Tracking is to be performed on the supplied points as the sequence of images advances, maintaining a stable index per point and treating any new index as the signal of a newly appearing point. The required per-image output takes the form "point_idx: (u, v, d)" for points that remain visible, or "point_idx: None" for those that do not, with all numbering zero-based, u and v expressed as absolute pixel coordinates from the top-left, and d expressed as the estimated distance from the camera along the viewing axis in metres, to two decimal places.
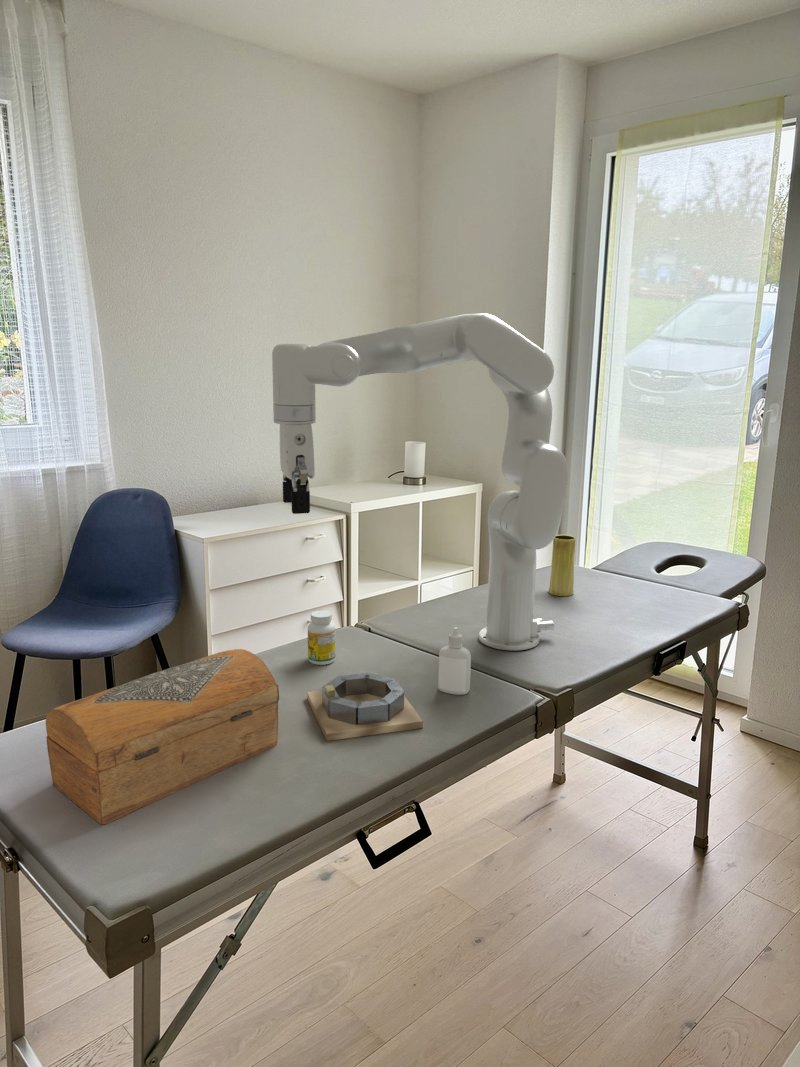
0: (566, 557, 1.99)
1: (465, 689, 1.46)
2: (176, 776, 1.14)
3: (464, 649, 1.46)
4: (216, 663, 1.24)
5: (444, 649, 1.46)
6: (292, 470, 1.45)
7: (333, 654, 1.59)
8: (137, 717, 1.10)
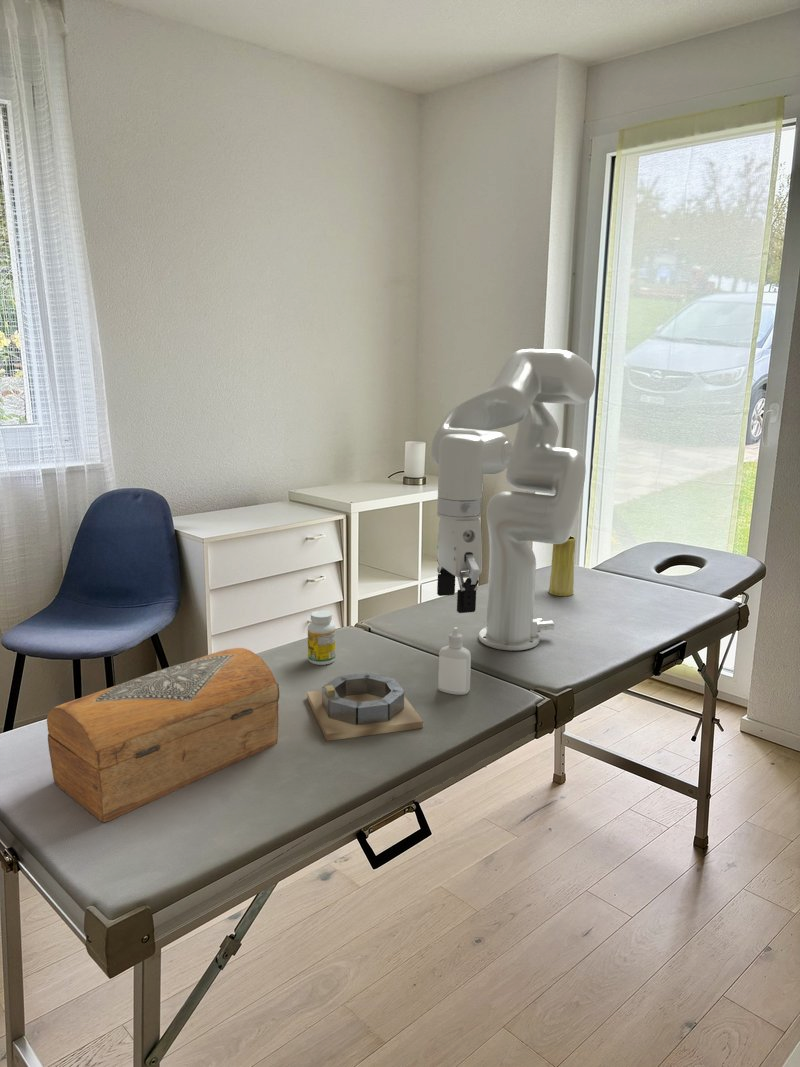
0: (566, 557, 1.99)
1: (465, 689, 1.46)
2: (177, 774, 1.15)
3: (464, 649, 1.46)
4: (216, 662, 1.25)
5: (444, 649, 1.46)
6: (460, 568, 1.37)
7: (333, 654, 1.59)
8: (138, 715, 1.11)
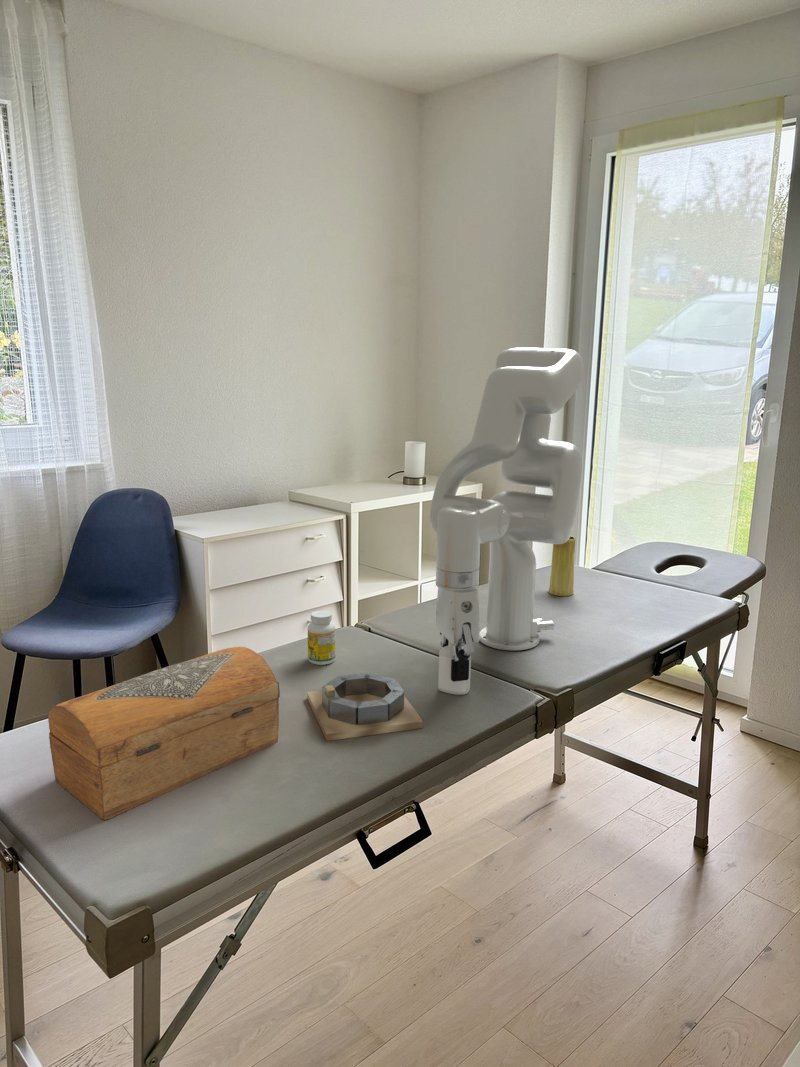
0: (566, 557, 1.99)
1: (465, 689, 1.46)
2: (177, 772, 1.15)
3: None
4: (217, 660, 1.25)
5: (444, 649, 1.46)
6: None
7: (333, 654, 1.59)
8: (139, 714, 1.11)
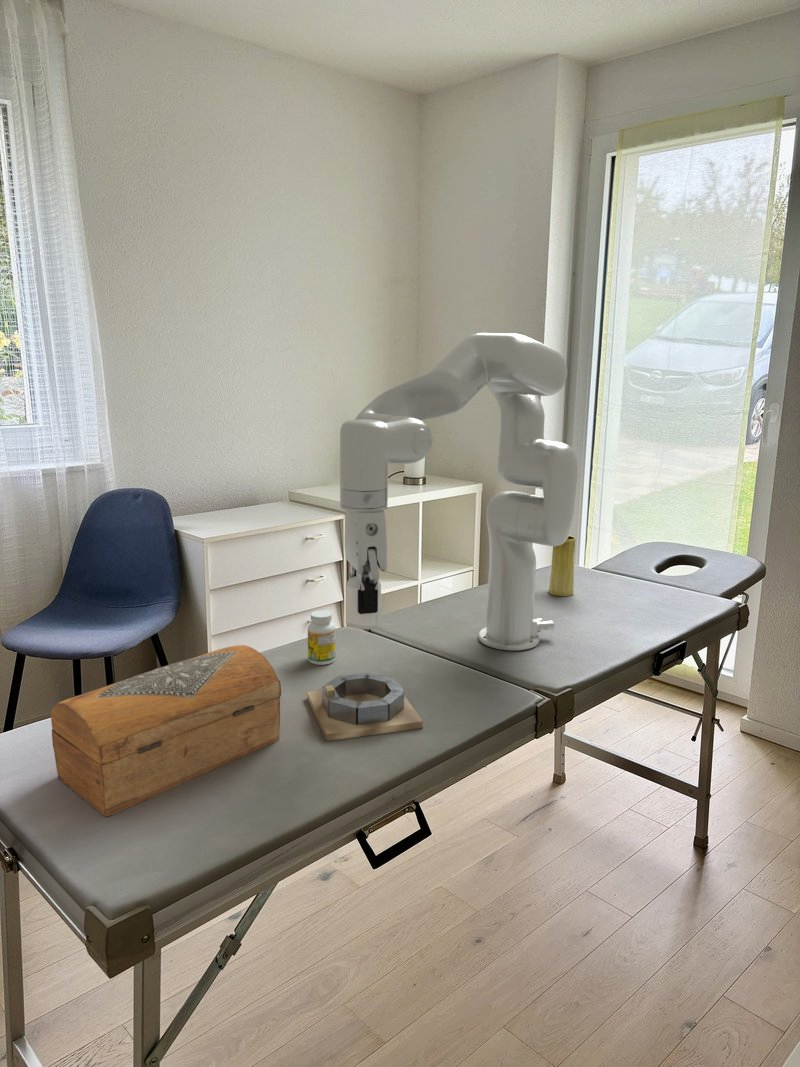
0: (566, 557, 1.99)
1: (374, 623, 1.33)
2: (179, 770, 1.16)
3: None
4: (219, 659, 1.26)
5: (351, 579, 1.33)
6: None
7: (333, 654, 1.59)
8: (141, 711, 1.12)
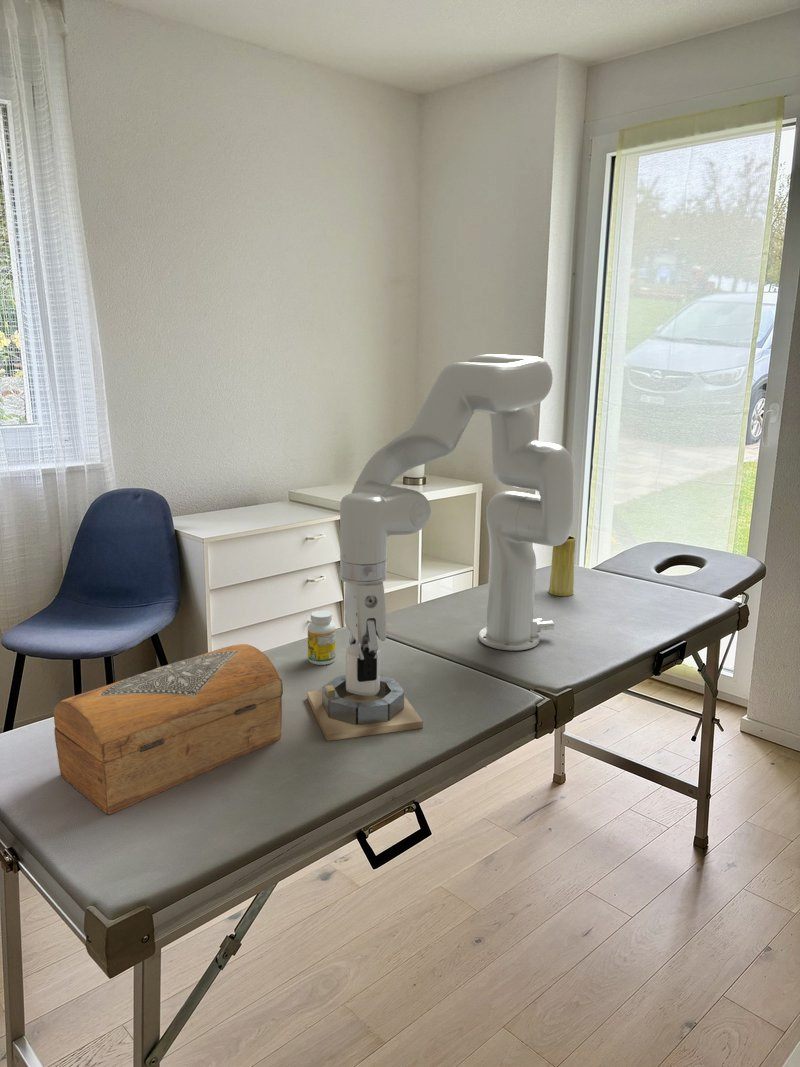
0: (566, 557, 1.99)
1: (374, 690, 1.36)
2: (181, 768, 1.16)
3: None
4: (221, 657, 1.27)
5: (351, 647, 1.36)
6: None
7: (333, 654, 1.59)
8: (143, 710, 1.12)
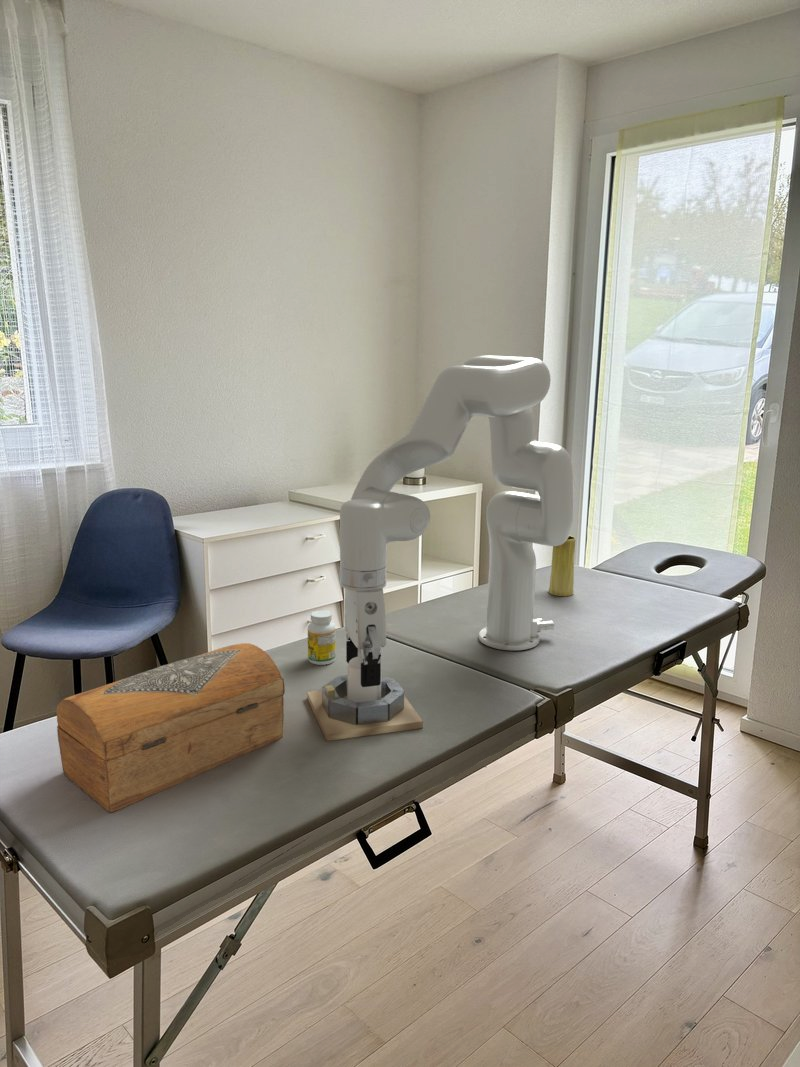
0: (566, 557, 1.99)
1: None
2: (183, 766, 1.17)
3: None
4: (223, 656, 1.27)
5: (353, 660, 1.37)
6: (362, 641, 1.30)
7: (333, 654, 1.59)
8: (145, 708, 1.13)
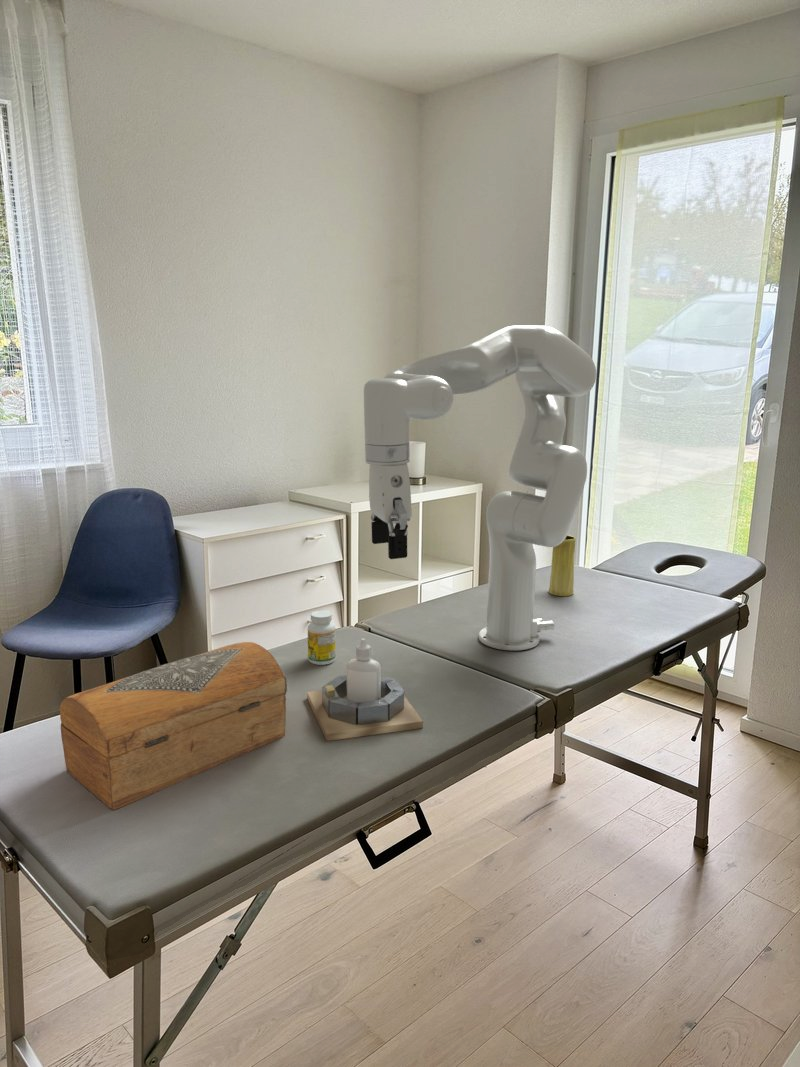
0: (566, 557, 1.99)
1: None
2: (185, 764, 1.17)
3: (373, 661, 1.37)
4: (225, 655, 1.28)
5: (352, 662, 1.36)
6: (389, 514, 1.36)
7: (333, 654, 1.59)
8: (148, 706, 1.13)
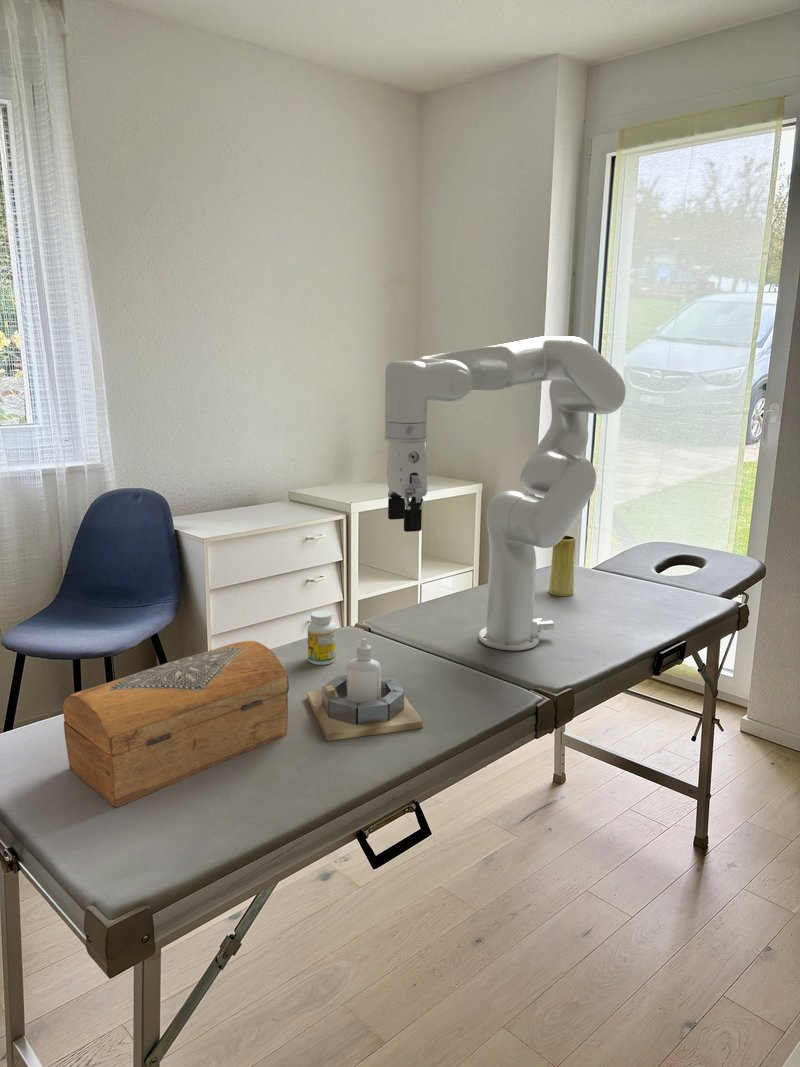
0: (566, 557, 1.99)
1: None
2: (187, 762, 1.18)
3: (374, 661, 1.37)
4: (228, 654, 1.28)
5: (352, 662, 1.37)
6: (406, 488, 1.43)
7: (333, 654, 1.59)
8: (150, 704, 1.14)
